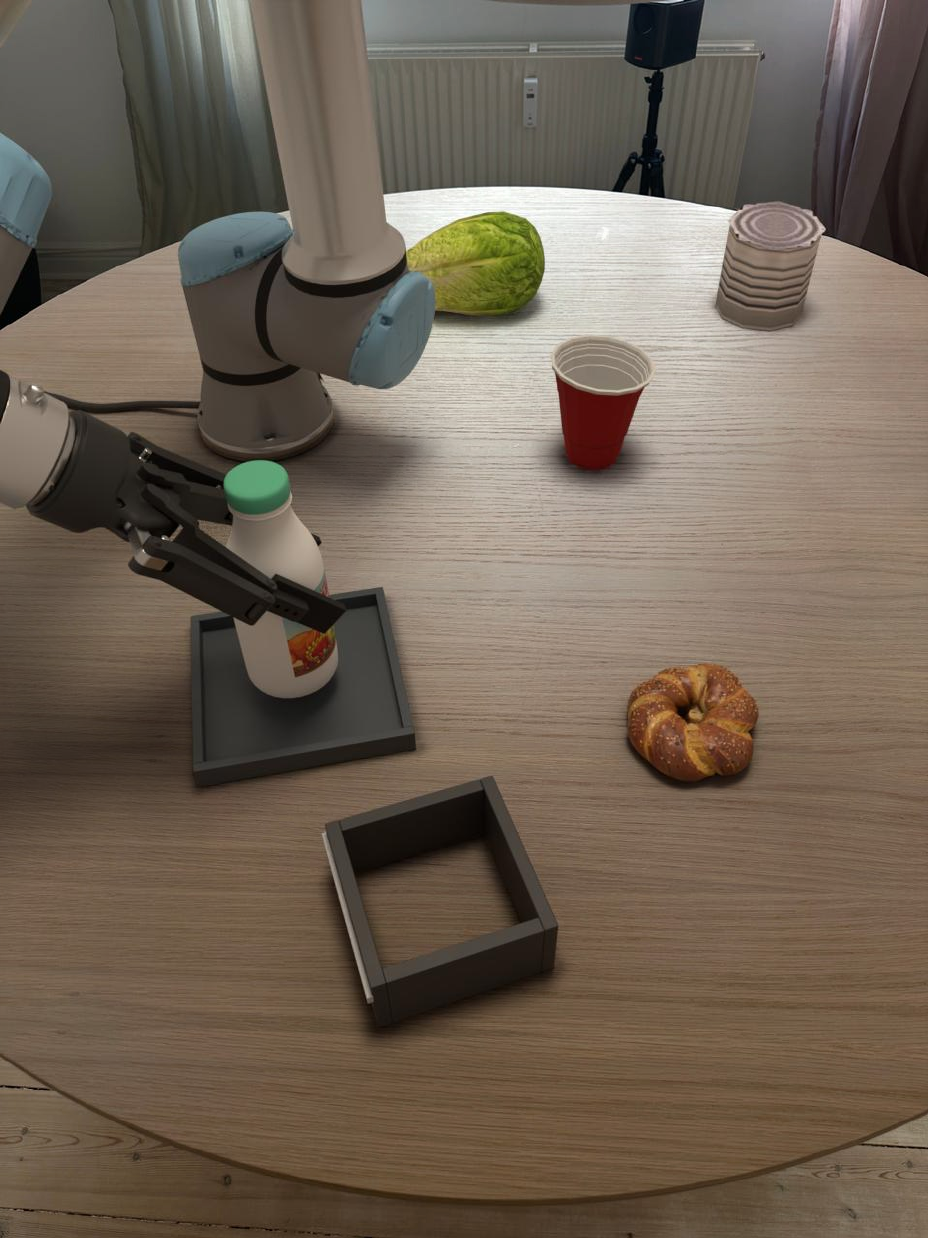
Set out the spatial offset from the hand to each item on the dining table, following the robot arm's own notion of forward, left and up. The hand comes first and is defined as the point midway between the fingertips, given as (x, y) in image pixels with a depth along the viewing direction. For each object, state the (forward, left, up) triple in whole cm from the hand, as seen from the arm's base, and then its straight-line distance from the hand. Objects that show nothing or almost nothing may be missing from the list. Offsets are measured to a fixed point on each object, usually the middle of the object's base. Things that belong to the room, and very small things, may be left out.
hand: (321, 583), depth 78 cm
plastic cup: (+5, +41, -11) cm, 43 cm away
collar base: (+20, -15, -11) cm, 27 cm away
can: (+10, +81, -11) cm, 82 cm away
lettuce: (-25, +62, -11) cm, 68 cm away
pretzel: (+29, +10, -11) cm, 33 cm away
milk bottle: (-2, -3, -9) cm, 9 cm away
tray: (-2, -3, -11) cm, 12 cm away
